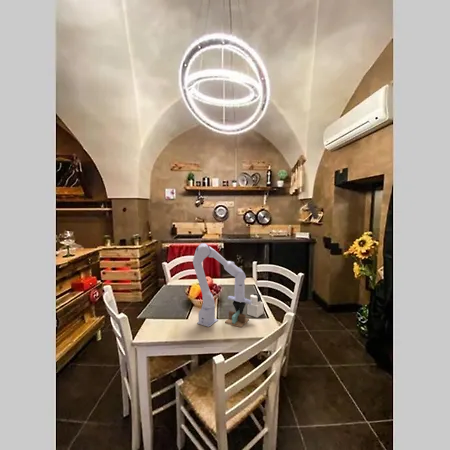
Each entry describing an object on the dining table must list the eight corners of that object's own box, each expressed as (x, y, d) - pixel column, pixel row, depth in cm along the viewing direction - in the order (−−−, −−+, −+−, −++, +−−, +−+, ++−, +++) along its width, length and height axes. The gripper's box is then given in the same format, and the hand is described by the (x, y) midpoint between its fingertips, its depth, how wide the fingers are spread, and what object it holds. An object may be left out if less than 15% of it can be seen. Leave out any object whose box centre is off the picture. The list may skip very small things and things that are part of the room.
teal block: (234, 323, 140) (234, 316, 139) (232, 323, 141) (231, 316, 140) (242, 315, 148) (242, 309, 148) (240, 314, 149) (240, 308, 149)
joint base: (241, 327, 137) (241, 318, 137) (224, 323, 142) (224, 314, 142) (248, 320, 146) (248, 312, 146) (233, 316, 151) (233, 308, 151)
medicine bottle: (253, 310, 159) (253, 291, 158) (263, 313, 154) (263, 294, 153) (247, 314, 153) (247, 295, 152) (257, 317, 149) (257, 297, 148)
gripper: (254, 291, 145) (254, 314, 146) (231, 286, 152) (231, 308, 154) (248, 294, 139) (248, 319, 140) (225, 290, 146) (225, 313, 148)
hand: (239, 314), depth 147 cm, fingers closed on teal block
